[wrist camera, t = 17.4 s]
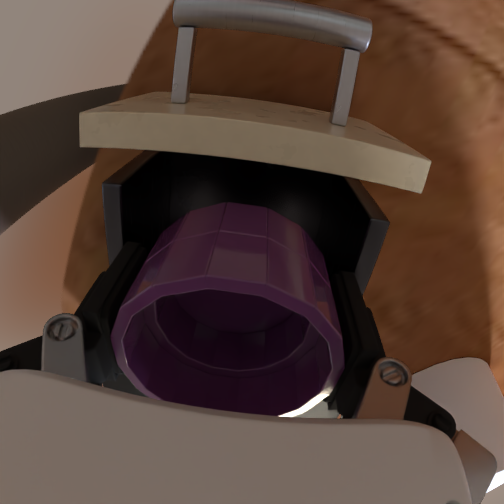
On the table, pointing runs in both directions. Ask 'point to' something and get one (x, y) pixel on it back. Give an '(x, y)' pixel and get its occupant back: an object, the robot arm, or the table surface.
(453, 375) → the cylinder
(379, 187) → the table surface
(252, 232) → the bowl
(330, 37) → the drawer
